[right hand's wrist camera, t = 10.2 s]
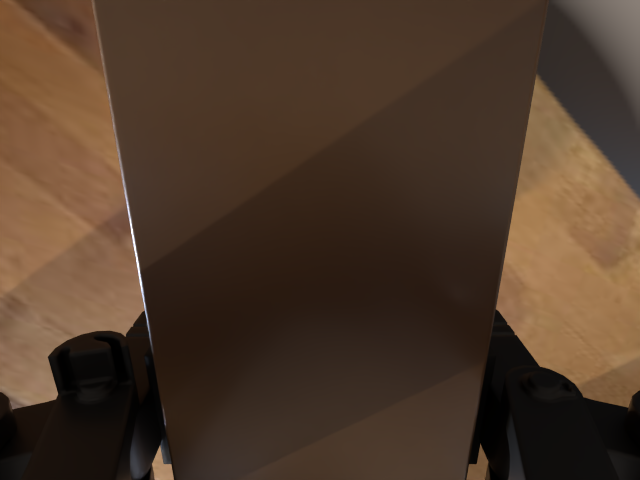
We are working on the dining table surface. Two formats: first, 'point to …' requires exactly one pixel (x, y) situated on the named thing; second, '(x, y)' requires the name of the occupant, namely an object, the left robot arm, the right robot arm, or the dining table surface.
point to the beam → (320, 222)
